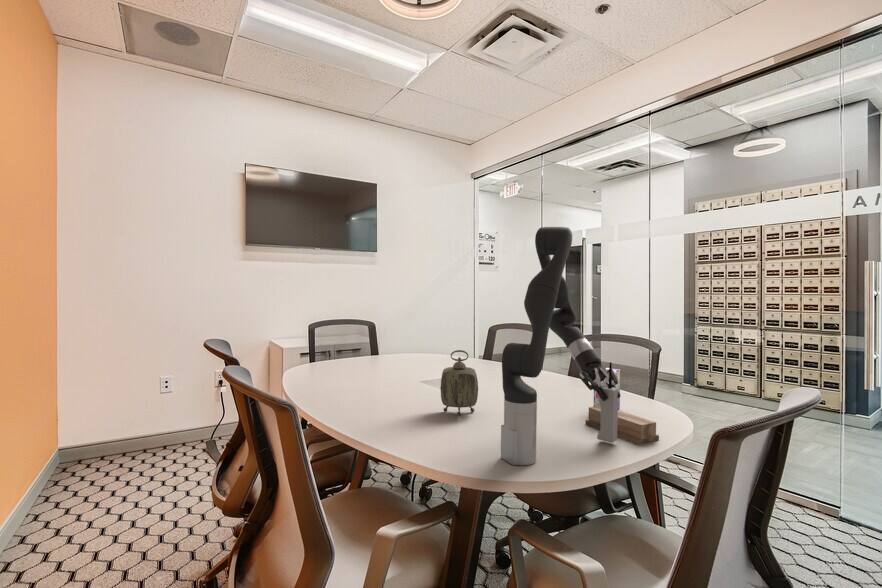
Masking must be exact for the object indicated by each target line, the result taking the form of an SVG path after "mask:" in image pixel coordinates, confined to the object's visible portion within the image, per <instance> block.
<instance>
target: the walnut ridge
mask: <svg viewBox="0 0 882 588" xmlns="http://www.w3.org/2000/svg"><path fill="white" fill-rule="evenodd" d="M593 406H594V405H593ZM593 406H589V407H588V419H586V420H585V425H586V424H587V425H586V426H588V425H589V426H588V427H591V428H594V429H596V430H599V431H600V422H601V406H594V407H593ZM617 438H620V439H622V440H624V441H628V442H630V443H633V444H635V445H637V446H639V445H642V444H646V443H651V442H652V443H653V442H657V441H659V440H660V435H659V434H657V422H656V421H654V420H651V419H647V418H644V417H640V416H638V415H635V414H631V413H628V412H625V411H622V410H620V409H618V422H617Z"/></svg>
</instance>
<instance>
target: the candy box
mask: <svg viewBox="0 0 882 588" xmlns="http://www.w3.org/2000/svg"><path fill="white" fill-rule="evenodd" d="M605 369H607V370H609V369H610V367H606V368H605ZM612 370H613V372H614V374H615V376H616V378H617V381H618V384H616V385H615V387H616V388H618V391H619V393H620V394H621V369H619V368H618V369H617V368H612ZM605 380H606V378H605V379H604V381H605ZM613 382H614V381H613ZM607 383H608V384H609V382H607ZM600 384H601V386H605V385H603V384H602V383H601V382H600ZM620 401H621V397H620V398H618V410H620V409H621V405H620V404H621V402H620ZM594 406H600V403H599V395H598V393H597V392H596V391H594V390H593V406H592V407H594ZM619 408H620V409H619Z"/></svg>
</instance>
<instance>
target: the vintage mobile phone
mask: <svg viewBox="0 0 882 588" xmlns="http://www.w3.org/2000/svg"><path fill="white" fill-rule="evenodd" d="M612 365H613V363H612V362H609V368H610V369H609V386H601V388H603V389H604V391H605V392H606V394H607V395H608V399H607V400H606V401H603V400H602V399H601V398H600V396H599V403H600V406H601V422H600V430H599V432H598V434H597V435H596V439H597V440H599V441H602V442H607V443H611V444H613V443H614V442H616V441H617V440H618V437H617V422H618V410H619V409H618V388H614V387H612V377H611V371H612V369H613V367H612Z"/></svg>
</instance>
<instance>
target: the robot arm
mask: <svg viewBox="0 0 882 588" xmlns="http://www.w3.org/2000/svg"><path fill="white" fill-rule="evenodd" d="M536 231H537V232H536V233H535V238H534V243H535V249H536V253H537V256H538V257H537V258H538V261H539V265H540V268H541V270H540V271H539V272H538V273H537V274H535V276H534V277H533V278H532V279H531V281H530V282H529V284H528V286H527V290H526V293H525V295H524V296H525V297H524V302H523V304H524V305H523V306H524V309H525V312H526V315H527V318H528V320H529V323H530V325H531V330H532V331H531V332H532V334H531V339H530V343H529V344H528V343H517V342H516V343H515V342H509V343H507V344H506V345H505V346H504V348H503V349H502V355H501V372H502V375H501V376H502V379H501V380H502V391H503V397H504V398H503V399H504V401H503V403H504V405H503V424H501V426H500V459H501V460H502V459H503V460H504V461H505V462H507V463H508V464H510V465H511V466H530V465H532V464H533V465H534V464H535V463H536V461H537V423H538V422H537V419H538V417H537V411H538V409H537V408H538V392H537V390H536V389H535V388H533V387H532V386H531V385H529V384H528V383H526V382H525V381H524V380H523V379H522V377H523V378H533V379H534V378H537V377H539V375H540V374H541V372H542V369H543V367H544V361H545V356H546V350H547V349H546V348H547V344H548V337H549V331H550V330H551V331H552V332H553V333H554V334H556V335H557V337H559V338H560V339H561V340H562V341H563V343H564V345H565V346H566V347H567V350H568V351H569V353H570V356H571V357H572V358H573V360H574V362H575V364H576V365H577V367H578V369H579V370H580V373H579V374H578V375H577V376H578V378H579V379H580V380H581V381H582V383H583V384H584V385H585V386H586V387H587V388H588V390H590V391H592V390H593V392H594V391H596V392H597V393H598V395H599V396H600V398H601V399H602V400H603V401H606V400H607V399H608V395H607V394H606V392H605V391H604V389H603V388H601V384H600V382H601V383H602V384H603V385H605V386H609V384H608V383H607V382H609V370H607V369H606V368H605V367H604V366H603V365H602V359H601V357H600V356H599V355H598V353H597V352H596V350H595V348H594V347H593V346H592V344H591V342H589V340H588V339H587V338H586V336H585V335H584V333H583V332H582V331H581V329H580V328H579V327H576V326H572V325H573V324H575V322H576V319H577V316H576V313H575V311H574V309H573V306H572V304H571V301H570V297H569V288H568V287H569V286H568V283H567V280H566V279H565V276H564V275H563V273H564V270H565V266H566V263H567V261H568V259H569V255H570V252H571V247H572V245H573V244H572V243H573V231H572V230H571V229H570V227H565V226H543V227H540V228H538V229H537V230H536ZM551 256H552V257H551ZM569 326H571V327H569ZM611 377H612V387H614V388H616V387H615V385H616V384H618V381H617V378H616V376H615V374H614V372H613V370H612V371H611ZM605 378H606V380H605V381H604V379H605ZM613 381H614V382H613ZM618 398H620V399H621V392H620V393H619V391H618Z"/></svg>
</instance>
